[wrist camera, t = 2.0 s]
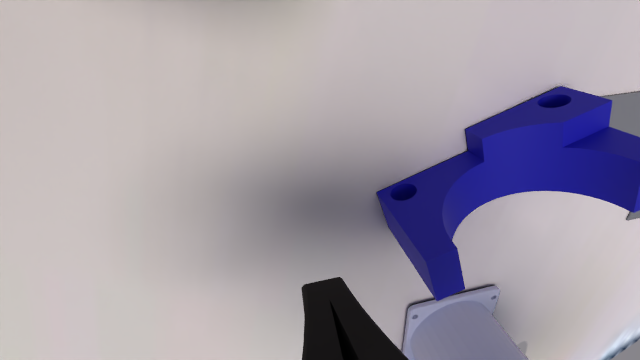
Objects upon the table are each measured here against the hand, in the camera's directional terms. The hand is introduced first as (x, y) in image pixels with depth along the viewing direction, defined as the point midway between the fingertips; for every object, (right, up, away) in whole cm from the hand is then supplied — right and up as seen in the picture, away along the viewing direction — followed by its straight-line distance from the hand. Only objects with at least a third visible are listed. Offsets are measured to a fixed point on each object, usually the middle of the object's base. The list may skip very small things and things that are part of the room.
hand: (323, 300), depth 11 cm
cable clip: (+9, +5, +9) cm, 14 cm away
